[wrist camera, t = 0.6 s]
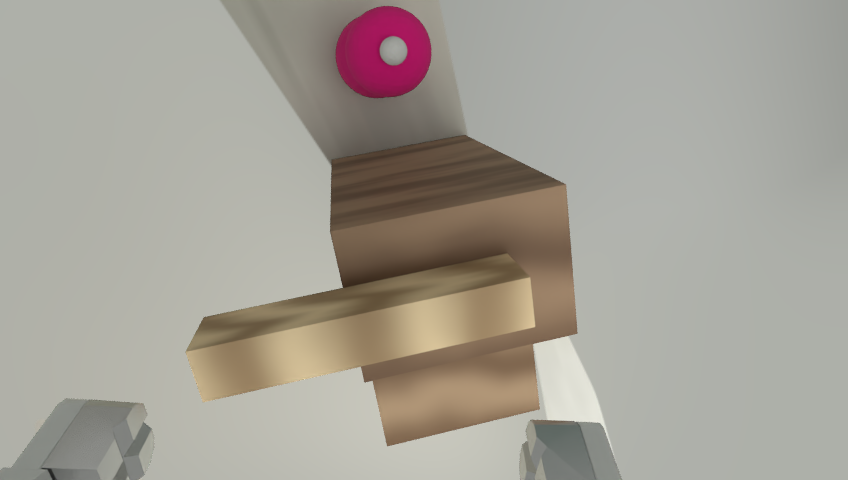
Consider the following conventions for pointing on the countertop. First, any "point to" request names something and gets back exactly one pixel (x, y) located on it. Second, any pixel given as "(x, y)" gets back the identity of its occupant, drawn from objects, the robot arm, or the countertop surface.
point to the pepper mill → (383, 52)
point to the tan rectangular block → (359, 326)
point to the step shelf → (447, 245)
